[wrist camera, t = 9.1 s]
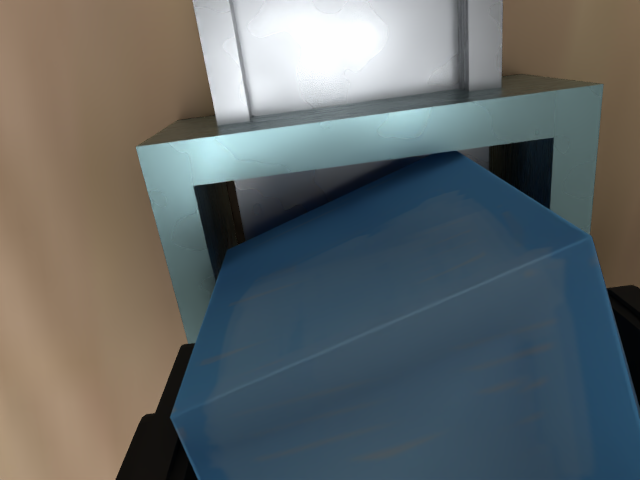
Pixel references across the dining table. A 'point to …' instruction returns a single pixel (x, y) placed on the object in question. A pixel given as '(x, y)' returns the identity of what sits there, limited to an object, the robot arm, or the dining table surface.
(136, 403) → the dining table surface
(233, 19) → the pale teal rectangular frame
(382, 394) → the perfume bottle
